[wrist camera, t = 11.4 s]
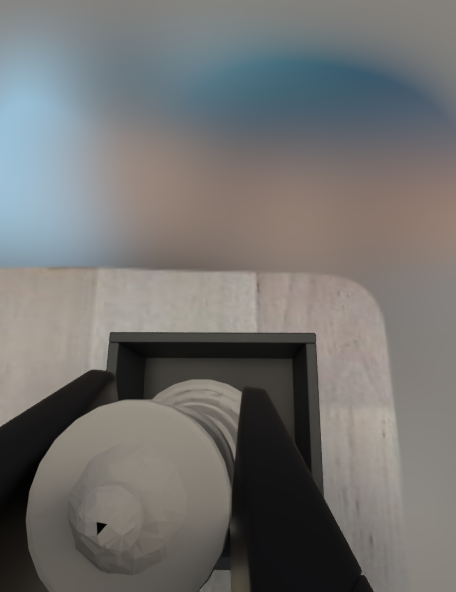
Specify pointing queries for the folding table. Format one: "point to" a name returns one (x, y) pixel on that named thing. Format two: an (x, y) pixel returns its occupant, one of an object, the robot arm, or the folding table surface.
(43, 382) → the folding table surface
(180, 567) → the chess piece
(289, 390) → the bin
